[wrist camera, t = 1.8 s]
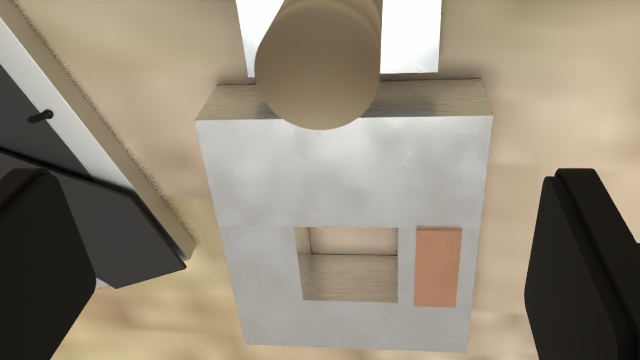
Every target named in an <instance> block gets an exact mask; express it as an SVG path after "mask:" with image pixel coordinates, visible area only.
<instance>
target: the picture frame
mask: <svg viewBox="0 0 640 360" xmlns="http://www.w3.org/2000/svg"><path fill="white" fill-rule="evenodd" d="M14 168H44V169H47V170H48V171H49V172H50V173H51V175H53V176H55V177H57V178H58V180H59V182H60V184H61V187H62V189H63V192H64V195H65V197H66V200H67V202H68V205H69V207H70V210H71V213H72V215H73V218H74V220H75V223H76V225H77V228H78V231H79V233H80V236H81V238H82V241H83V243H84V246H85V248H86V251H87V254H88V256H89V259H90V261H91V264H92V266H93V269H94V272H95V274H96V288H95V290H96V289H99V288H102V287H105V286H109V285H110V286H112V287H114V288H115V289H118V288H121V287H124V286H128V285H131V284H135V283H138V282H142V281H145V280H149V279H152V278H156V277H159V276H163V275H166V274H169V273H173V272H176V271H180V270H183V269H186V267H187V266H186V265H185V263H184V262H183V261H186V260H189V259H190V258H191V256H192V253H193V251H194V249H195V247H196V242H195V241H194V240H193V238H192V237H191V236H190V234H189V233H188V232H187V230H186V229H185V228H184V226H183V225H182V224H181V222H180V221H179V220H178V218H177V217H176V216H175V215H174V213H173V212H172V211H171V209H170V208H169V207H168V205H167V204H166V203H165V201H164V200H163V199H162V197H161V196H160V195H159V193H158V192H157V191H156V189H155V188H154V187H153V186H152V184H151V183H150V182H149V180H148V179H147V178H146V176H145V175H144V174H143V172H142V171H141V170H140V168H139V167H138V166H137V164H136V163H135V162H134V160H133V159H132V158H131V157H130V155H129V154H128V153H127V151H126V150H125V149H124V147H123V146H122V145H121V143H120V142H119V141H118V139H117V138H116V137H115V135H114V134H113V133H112V131H111V130H110V129H109V127H108V126H107V125H106V124H105V122H104V121H103V120H102V118H101V117H100V116H99V114H98V113H97V112H96V110H95V109H94V108H93V106H92V105H91V104H90V102H89V101H88V100H87V98H86V97H85V96H84V95H83V93H82V92H81V91H80V89H79V88H78V87H77V85H76V84H75V83H74V81H73V80H72V79H71V77H70V76H69V75H68V73H67V72H66V71H65V69H64V68H63V67H62V66H61V64H60V63H59V62H58V60H57V59H56V58H55V56H54V55H53V54H52V52H51V51H50V50H49V48H48V47H47V46H46V44H45V43H44V42H43V40H42V39H41V38H40V37H39V35H38V34H37V33H36V31H35V30H34V29H33V27H32V26H31V25H30V23H29V22H28V21H27V19H26V18H25V17H24V15H23V14H22V13H21V11H20V10H19V9H18V7H17V6H16V5H15V4H14V2H13V1H12V0H0V179H2V178H3V177H4V176H5V175H6V174H7V173H8V172H9V171H11V170H12V169H14Z"/></svg>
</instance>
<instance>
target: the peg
mask: <svg viewBox="0 0 640 360" xmlns="http://www.w3.org/2000/svg"><path fill="white" fill-rule="evenodd" d="M382 18H383V0H284V1H283V3H282V5H281V7H280V8H279V10H278V12H277V14H276V16H275V17H274V19H273V21H272V23H271V24H270V26H269V28H268V30H267V32H266V33H265V35H264V37H263V39H262V41H261V42H260V44H259V46H258V49H257V52H256V56H255V62H254V73H255V80H256V84H257V87H258V90H259V92H260V94H261V96H262V98H263V99H264V101H265V102H266V104H267V105H268V106H269V107H270V108H271V110H272V111H273V112H275V113H276V114H277V115H278V116H279V117H281V118H282V119H284V120H285V121H287V122H289V123H291V124H293V125H295V126H298V127H301V128H305V129H310V130H330V129H335V128H339V127H342V126H345V125H347V124H349V123H351V122H352V121H354V120H356V119H357V118H358V117H360V116H361V115H362V114H363V113H364V112H365V111H366V110H367V109H368V107H369V106H370V105H371V103H372V102H373V100H374V98H375V96H376V93H377V90H378V86H379V81H380V63H381V40H382Z"/></svg>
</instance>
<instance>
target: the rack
mask: <svg viewBox="0 0 640 360" xmlns="http://www.w3.org/2000/svg"><path fill="white" fill-rule="evenodd" d="M283 1H284V0H236V3H237V9H238V16H239V22H240V28H241V35H242V41H243V47H244V54H245V60H246V66H247V73H248V77H255V73H254V62H255V56H256V52H257V49H258V46H259V44H260V42H261V41H262V39H263V37H264V35H265V33H266V32H267V30H268V28H269V26H270V24H271V23H272V21H273V19H274V17H275V16H276V14H277V12H278V10H279V8H280V7H281V5H282V3H283ZM440 18H441V0H383V18H382V40H381V63H380V74H390V73H427V72H438V60H439V39H440ZM194 121H195V125H196V130H197V134H198V138H199V143H200V147H201V152H202V156H203V160H204V165H205V169H206V174H207V178H208V182H209V187H210V191H211V196H212V200H213V204H214V209H215V213H216V218H217V222H218V226H219V231H220V235H221V240H222V244H223V248H224V253H225V257H226V262H227V266H228V270H229V275H230V279H231V284H232V288H233V292H234V297H235V301H236V306H237V310H238V314H239V319H240V323H241V328H242V332H243V336H244V341H245V344H255V345H281V346H306V347H332V348H358V349H383V350H409V351H434V352H460V353H466V352H467V343H468V334H469V325H470V316H471V307H472V299H473V290H474V281H475V272H476V263H477V254H478V245H479V237H480V228H481V219H482V210H483V201H484V192H485V184H486V175H487V166H488V157H489V148H490V139H491V130H492V122H493V114H492V111H491V108H490V105H489V102H488V98H487V95H486V92H485V89H484V86H483V83H482V80H481V79H453V80H413V81H379V86H378V90H377V93H376V96H375V98H374V100H373V102H372V103H371V105H370V106H369V107H368V109H367V110H366V111H365V112H364V113H363V114H362V115H361V116H360V117H358V118H357V119H356V120H354V121H352V122H351V123H349V124H347V125H345V126H342V127H339V128H335V129H330V130H310V129H305V128H301V127H298V126H295V125H293V124H291V123H289V122H287V121H285V120H284V119H282V118H281V117H279V116H278V115H277V114H276V113H275V112H273V111H272V110H271V108H270V107H269V106H268V105H267V104H266V102H265V101H264V99H263V98H262V96H261V94H260V92H259V90H258V87H257V84H253V85H217V86H216V87H215V89H214V90H213V92H212V94H211V95H210V97H209V98H208V100H207V102H206V103H205V105H204V106H203V108H202V109H201V111H200V113H199V114H198V116H197V117H196V119H195V120H194ZM308 227H356V228H397V256H384V255H323V254H311V246H310V237H309V228H308Z"/></svg>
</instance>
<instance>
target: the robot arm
mask: <svg viewBox="0 0 640 360" xmlns="http://www.w3.org/2000/svg"><path fill="white" fill-rule="evenodd" d="M95 288H96V274H95V272H94V269H93V266H92V264H91V261H90V259H89V256H88V254H87V251H86V248H85V246H84V243H83V241H82V238H81V236H80V233H79V231H78V228H77V225H76V223H75V220H74V218H73V215H72V213H71V210H70V207H69V205H68V202H67V200H66V197H65V195H64V192H63V189H62V187H61V184H60V182H59V180H58V178H57V177H55V176H53V175H51V173H50V172H49V171H48V170H47V169H44V168H14V169H12V170H11V171H9V172H8V173H7V174H6V175H5V176H4V177H3V178H2V179H0V360H50V359H51V357H52V356H53V354H54V353H55V351H56V350H57V348H58V347H59V345H60V344H61V342H62V340H63V339H64V337H65V336H66V334H67V333H68V331H69V330H70V328H71V327H72V325H73V324H74V322H75V321H76V319H77V318H78V316H79V314H80V313H81V311H82V310H83V308H84V307H85V305H86V304H87V302H88V301H89V299H90V298H91V296H92V295H93V293H94V291H95ZM524 299H525V307H526V311H527V315H528V319H529V323H530V326H531V330H532V334H533V338H534V341H535V345H536V349H537V353H538V357H539V360H640V243H637V242H636V241H635V239H634V237H633V235H632V234H631V232H630V230H629V228H628V227H627V225H626V223H625V221H624V220H623V218H622V216H621V214H620V213H619V211H618V209H617V207H616V206H615V204H614V202H613V200H612V199H611V197H610V195H609V193H608V192H607V190H606V188H605V186H604V185H603V183H602V181H601V180H600V178H599V176H598V174H597V173H596V171H595V170H594V169H591V168H559V169H558V170H557V171H556V173H555V176H554V177H552V176H546V177H545V179H544V181H543V186H542V192H541V197H540V203H539V209H538V215H537V220H536V226H535V232H534V237H533V243H532V249H531V255H530V260H529V266H528V272H527V278H526V283H525V290H524Z"/></svg>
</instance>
